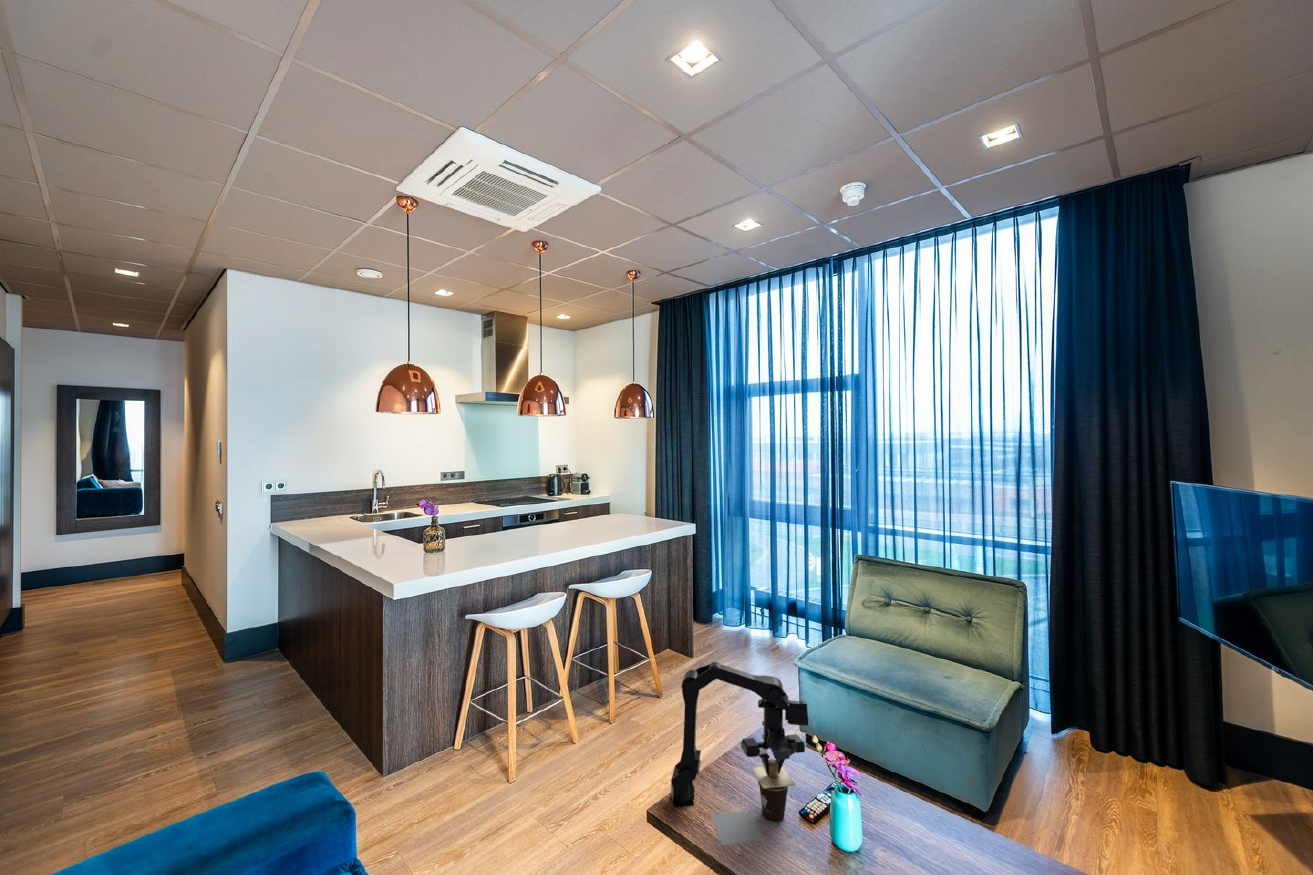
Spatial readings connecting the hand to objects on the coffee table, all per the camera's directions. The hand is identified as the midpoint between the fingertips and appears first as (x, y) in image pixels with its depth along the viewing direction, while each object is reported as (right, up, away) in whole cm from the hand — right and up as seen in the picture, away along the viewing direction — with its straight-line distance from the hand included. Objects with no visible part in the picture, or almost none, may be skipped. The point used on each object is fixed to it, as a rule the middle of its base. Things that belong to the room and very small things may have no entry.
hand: (772, 773), depth 168 cm
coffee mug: (0, -12, 0) cm, 12 cm away
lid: (0, -1, 0) cm, 1 cm away
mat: (-12, -11, -8) cm, 18 cm away
